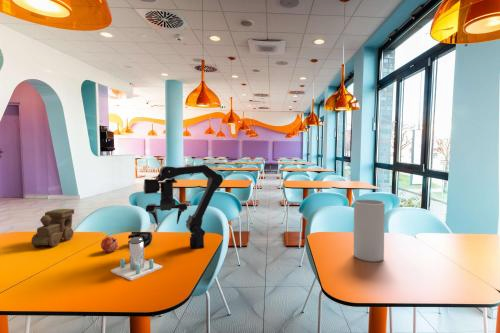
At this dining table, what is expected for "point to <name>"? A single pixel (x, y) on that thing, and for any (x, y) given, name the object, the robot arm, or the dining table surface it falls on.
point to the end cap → (145, 235)
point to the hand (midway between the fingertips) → (167, 224)
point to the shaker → (136, 252)
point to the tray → (133, 272)
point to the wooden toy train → (54, 228)
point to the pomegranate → (109, 244)
